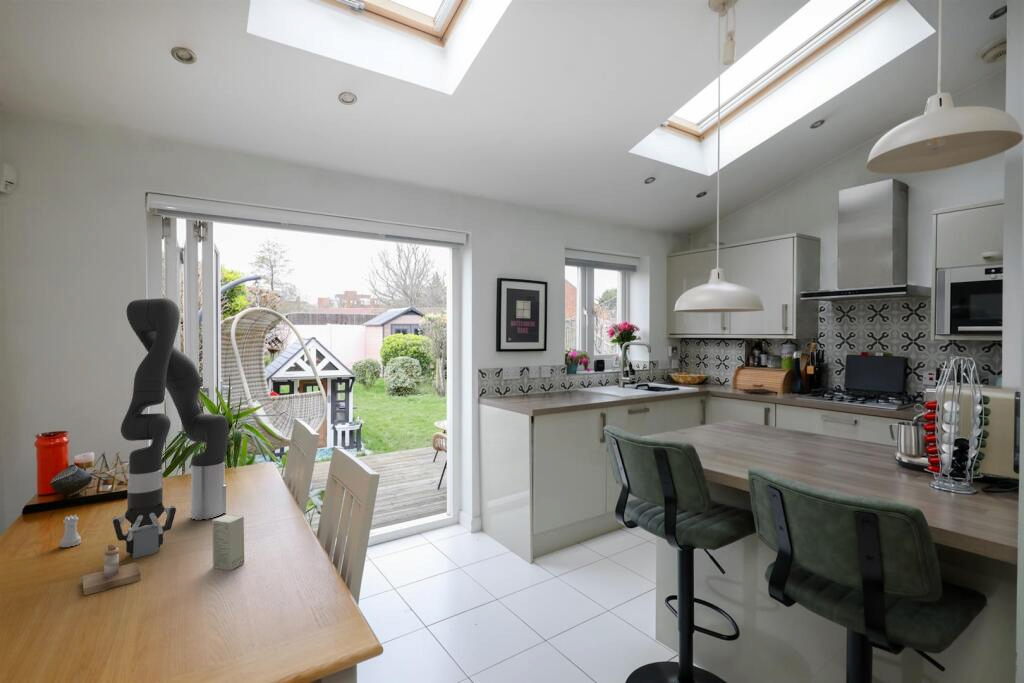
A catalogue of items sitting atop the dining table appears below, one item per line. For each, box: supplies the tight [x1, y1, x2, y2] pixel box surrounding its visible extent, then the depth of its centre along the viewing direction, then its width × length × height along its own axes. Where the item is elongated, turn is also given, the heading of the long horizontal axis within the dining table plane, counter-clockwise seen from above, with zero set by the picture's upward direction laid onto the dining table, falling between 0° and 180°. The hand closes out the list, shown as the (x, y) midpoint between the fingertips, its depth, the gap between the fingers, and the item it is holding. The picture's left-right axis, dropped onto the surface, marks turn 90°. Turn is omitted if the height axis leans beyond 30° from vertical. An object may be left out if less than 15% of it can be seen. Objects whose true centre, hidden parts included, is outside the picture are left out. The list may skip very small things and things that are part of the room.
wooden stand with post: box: [81, 543, 142, 596], centre depth 112 cm, size 10×8×9 cm
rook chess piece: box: [59, 514, 82, 548], centre depth 132 cm, size 4×4×8 cm
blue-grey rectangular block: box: [131, 524, 159, 559], centre depth 127 cm, size 5×5×7 cm
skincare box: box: [211, 513, 245, 571], centre depth 120 cm, size 6×4×12 cm
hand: (144, 550), depth 127 cm, fingers closed on blue-grey rectangular block, 5 cm apart
